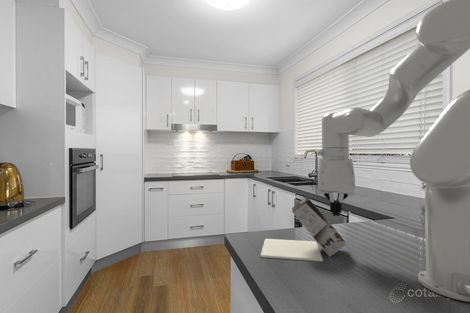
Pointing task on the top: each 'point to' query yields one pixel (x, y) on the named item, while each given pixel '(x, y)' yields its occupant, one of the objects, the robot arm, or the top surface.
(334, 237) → the coffee box
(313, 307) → the top surface
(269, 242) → the mat
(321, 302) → the top surface
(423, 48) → the robot arm
